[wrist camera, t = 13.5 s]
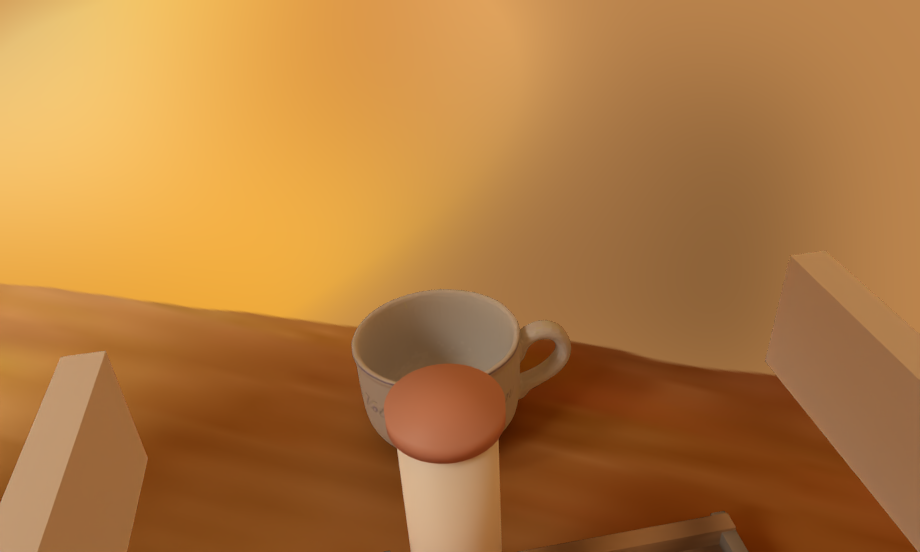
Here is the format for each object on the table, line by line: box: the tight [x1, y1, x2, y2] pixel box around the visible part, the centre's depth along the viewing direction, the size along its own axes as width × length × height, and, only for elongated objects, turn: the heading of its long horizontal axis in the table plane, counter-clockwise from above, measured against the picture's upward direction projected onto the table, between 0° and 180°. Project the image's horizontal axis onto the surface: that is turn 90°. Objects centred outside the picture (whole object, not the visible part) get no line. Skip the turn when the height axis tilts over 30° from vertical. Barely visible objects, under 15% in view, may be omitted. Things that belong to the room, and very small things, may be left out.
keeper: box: [384, 364, 506, 552], centre depth 33 cm, size 6×5×16 cm
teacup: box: [352, 289, 571, 447], centre depth 50 cm, size 14×11×8 cm
